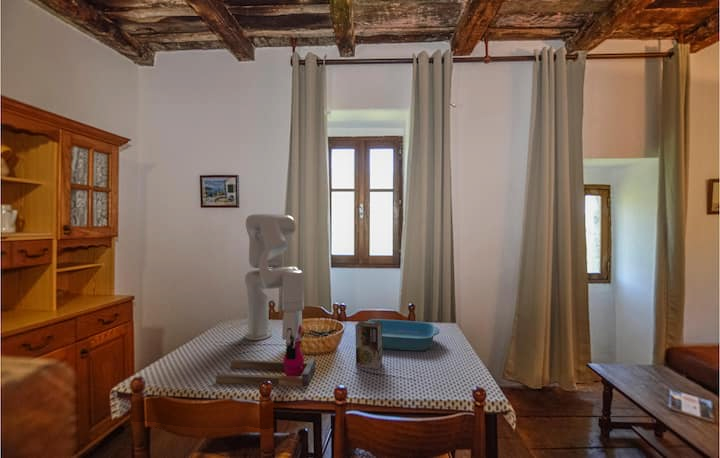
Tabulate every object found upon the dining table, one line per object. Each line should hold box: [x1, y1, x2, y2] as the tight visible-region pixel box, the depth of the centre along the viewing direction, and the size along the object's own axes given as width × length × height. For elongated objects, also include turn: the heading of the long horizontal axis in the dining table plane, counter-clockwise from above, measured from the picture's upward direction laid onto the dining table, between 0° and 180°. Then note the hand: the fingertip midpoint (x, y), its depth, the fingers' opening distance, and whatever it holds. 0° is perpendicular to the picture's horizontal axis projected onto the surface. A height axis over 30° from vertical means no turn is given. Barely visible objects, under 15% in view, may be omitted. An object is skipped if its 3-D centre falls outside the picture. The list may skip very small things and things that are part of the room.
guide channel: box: [215, 357, 317, 387], centre depth 121 cm, size 13×32×4 cm, turn 86°
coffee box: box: [354, 320, 383, 370], centre depth 130 cm, size 9×6×16 cm
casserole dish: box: [367, 318, 440, 352], centre depth 153 cm, size 37×22×7 cm, turn 76°
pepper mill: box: [282, 325, 305, 376], centre depth 120 cm, size 7×7×20 cm
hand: (293, 354), depth 121 cm, fingers closed on pepper mill, 5 cm apart
